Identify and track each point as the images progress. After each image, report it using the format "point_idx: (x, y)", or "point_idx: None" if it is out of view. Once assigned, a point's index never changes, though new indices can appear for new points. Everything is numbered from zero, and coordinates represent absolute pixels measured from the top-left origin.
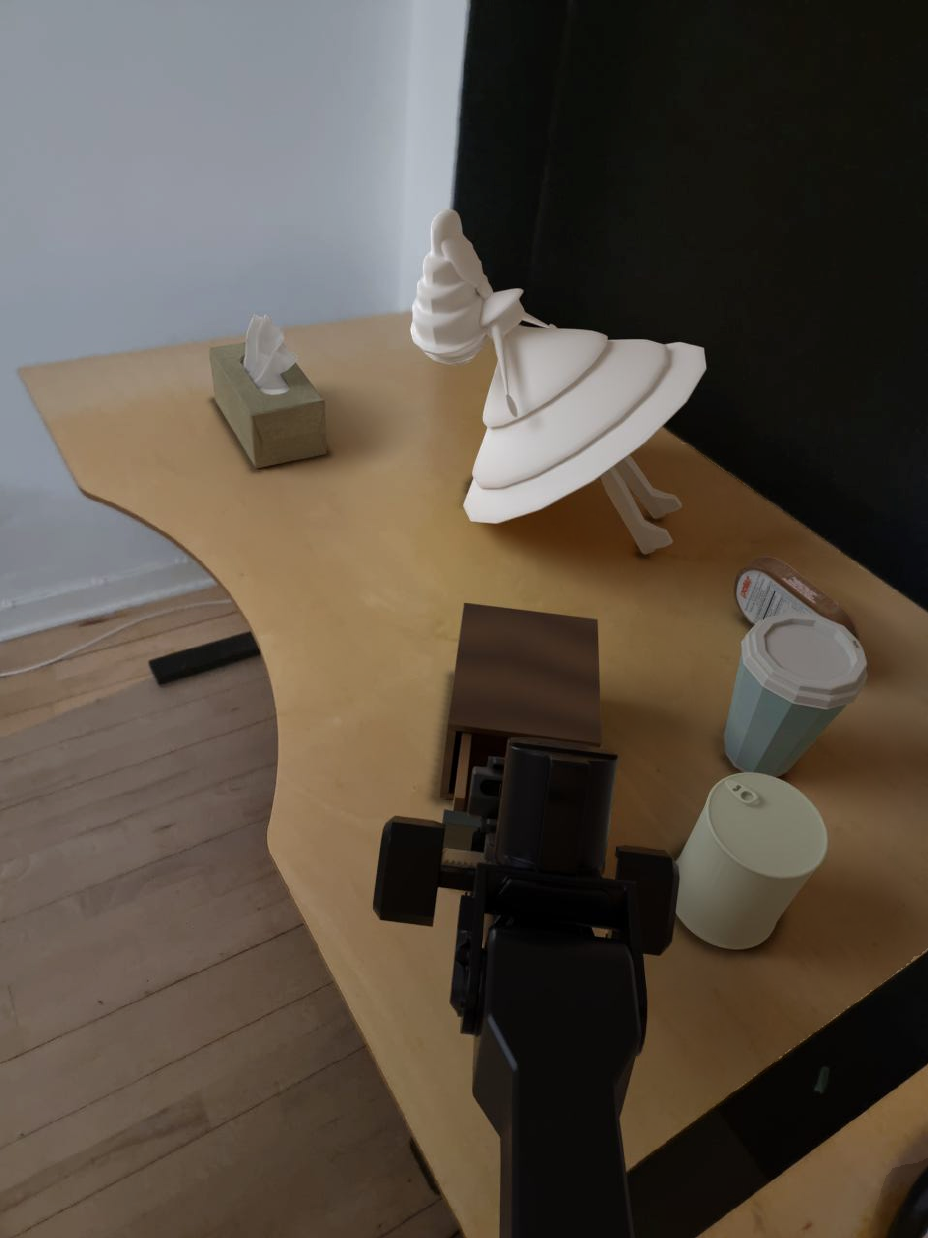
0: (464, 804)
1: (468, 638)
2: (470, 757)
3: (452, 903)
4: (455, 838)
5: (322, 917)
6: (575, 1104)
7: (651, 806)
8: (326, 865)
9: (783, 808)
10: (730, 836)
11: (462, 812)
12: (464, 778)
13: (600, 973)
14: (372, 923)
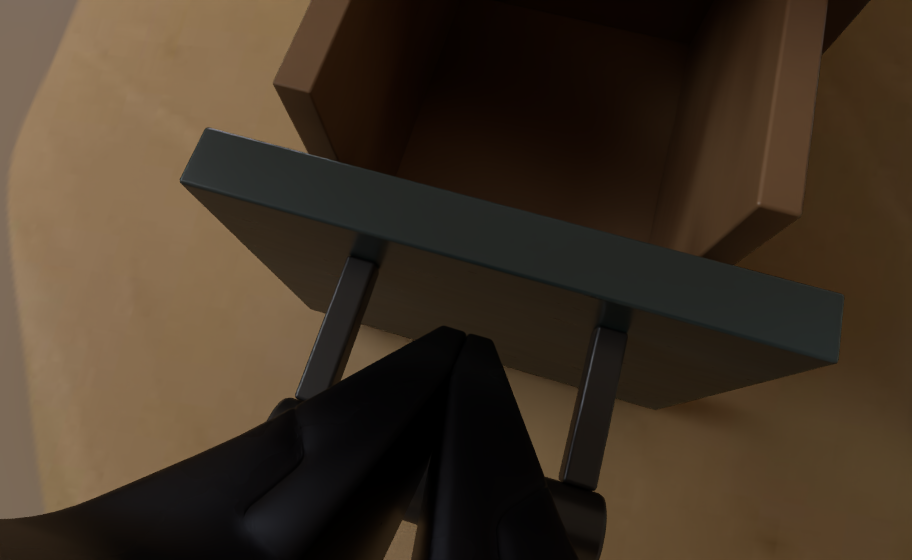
0: (420, 124)
1: None
2: (464, 10)
3: (349, 362)
4: (271, 239)
5: (42, 351)
6: None
7: (901, 184)
8: (89, 228)
9: None
10: None
11: (275, 148)
12: (332, 15)
13: None
14: (149, 383)
